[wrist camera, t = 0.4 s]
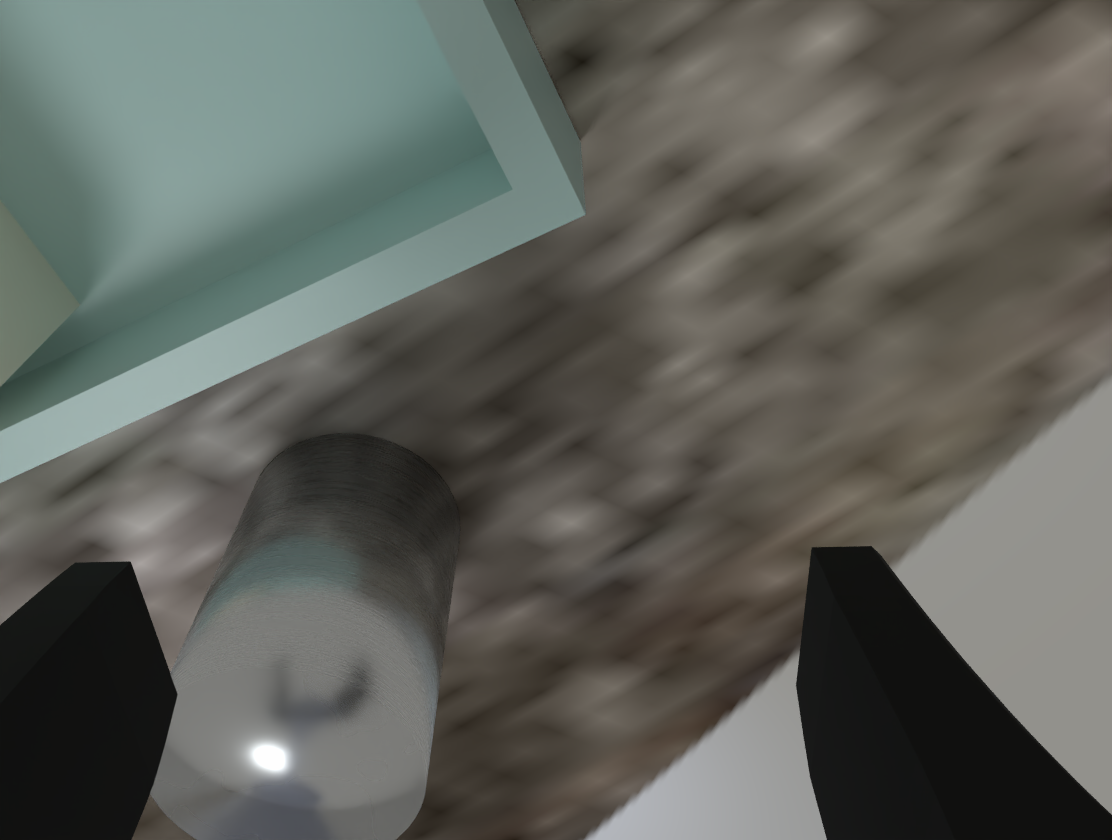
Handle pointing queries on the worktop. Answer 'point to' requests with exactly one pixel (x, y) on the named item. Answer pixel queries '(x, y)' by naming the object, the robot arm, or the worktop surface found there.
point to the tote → (255, 182)
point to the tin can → (317, 652)
